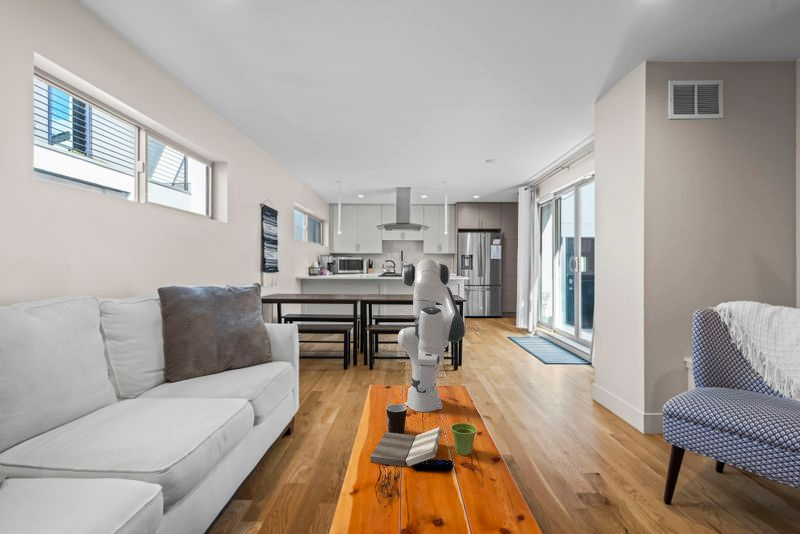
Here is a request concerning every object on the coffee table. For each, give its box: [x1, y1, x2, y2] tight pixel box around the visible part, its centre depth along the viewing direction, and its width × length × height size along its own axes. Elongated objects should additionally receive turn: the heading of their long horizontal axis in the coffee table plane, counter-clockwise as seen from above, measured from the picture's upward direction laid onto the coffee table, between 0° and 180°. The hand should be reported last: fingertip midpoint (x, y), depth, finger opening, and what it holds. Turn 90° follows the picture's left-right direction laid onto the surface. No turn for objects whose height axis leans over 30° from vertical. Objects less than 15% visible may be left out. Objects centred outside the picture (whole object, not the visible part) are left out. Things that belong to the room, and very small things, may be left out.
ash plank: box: [406, 426, 443, 467], centre depth 133 cm, size 20×10×2 cm, turn 167°
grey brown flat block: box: [369, 431, 416, 467], centre depth 135 cm, size 20×12×2 cm, turn 167°
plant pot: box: [450, 422, 478, 456], centre depth 135 cm, size 9×9×9 cm
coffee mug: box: [385, 403, 408, 434], centre depth 152 cm, size 12×9×10 cm
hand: (430, 394), depth 128 cm, fingers open, 5 cm apart
